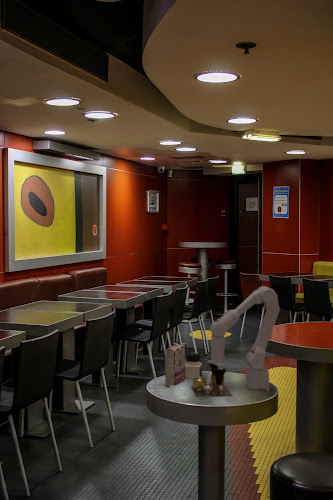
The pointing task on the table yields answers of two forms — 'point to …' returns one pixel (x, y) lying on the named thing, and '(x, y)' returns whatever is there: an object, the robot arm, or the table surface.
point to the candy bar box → (174, 365)
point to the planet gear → (213, 382)
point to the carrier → (208, 389)
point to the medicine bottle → (193, 366)
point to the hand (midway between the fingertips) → (217, 382)
